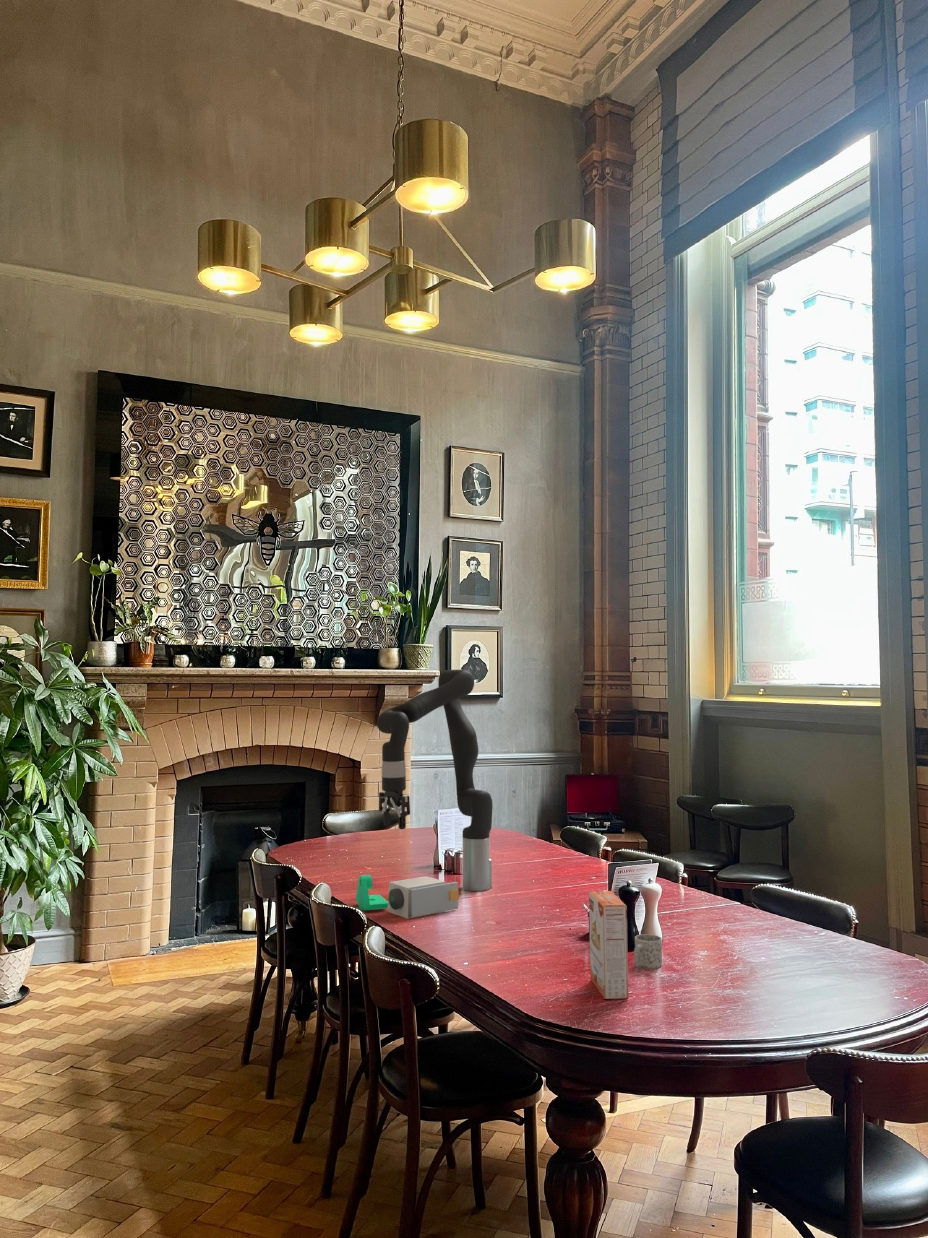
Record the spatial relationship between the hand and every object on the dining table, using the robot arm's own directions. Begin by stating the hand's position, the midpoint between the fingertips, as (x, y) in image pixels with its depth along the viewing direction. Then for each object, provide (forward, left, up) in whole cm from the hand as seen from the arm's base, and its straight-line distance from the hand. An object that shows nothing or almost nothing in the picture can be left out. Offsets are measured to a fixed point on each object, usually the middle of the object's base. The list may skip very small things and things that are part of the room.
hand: (394, 827), depth 289 cm
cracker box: (+4, +94, -25) cm, 97 cm away
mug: (-16, +88, -25) cm, 92 cm away
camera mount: (+5, -4, -25) cm, 26 cm away
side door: (-5, +15, -24) cm, 29 cm away
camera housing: (-3, +9, -25) cm, 26 cm away
